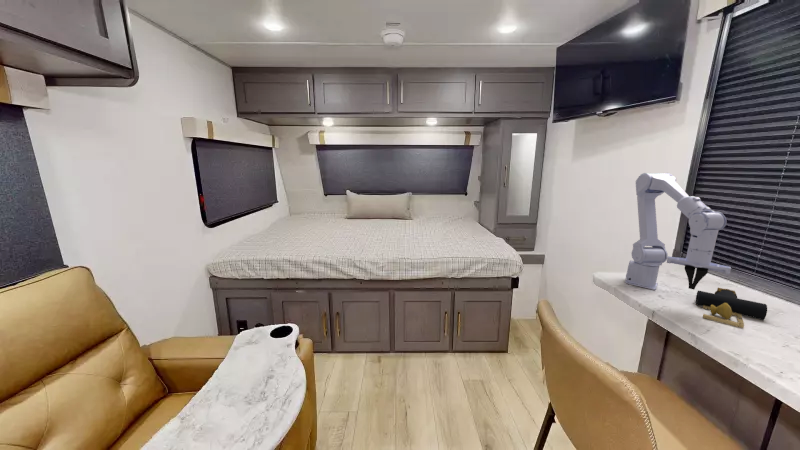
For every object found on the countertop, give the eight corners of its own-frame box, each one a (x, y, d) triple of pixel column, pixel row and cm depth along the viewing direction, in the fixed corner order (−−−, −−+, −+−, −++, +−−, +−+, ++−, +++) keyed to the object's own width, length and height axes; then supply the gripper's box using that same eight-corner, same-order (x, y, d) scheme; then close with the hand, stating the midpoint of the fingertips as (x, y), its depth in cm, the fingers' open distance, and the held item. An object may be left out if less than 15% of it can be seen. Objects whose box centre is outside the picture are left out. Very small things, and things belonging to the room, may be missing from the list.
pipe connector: (696, 281, 108) (759, 293, 98) (693, 295, 109) (755, 308, 99) (699, 293, 99) (768, 307, 90) (696, 307, 100) (763, 322, 91)
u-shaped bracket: (702, 317, 93) (703, 314, 93) (702, 307, 99) (703, 304, 99) (743, 328, 87) (744, 325, 87) (740, 316, 94) (741, 313, 93)
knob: (732, 317, 93) (736, 303, 92) (727, 322, 90) (731, 307, 89) (711, 311, 97) (715, 297, 96) (706, 315, 94) (710, 301, 93)
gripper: (669, 247, 96) (661, 285, 99) (735, 257, 86) (724, 299, 89) (671, 242, 101) (663, 279, 104) (733, 251, 91) (723, 292, 94)
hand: (691, 288), depth 97 cm, fingers closed
